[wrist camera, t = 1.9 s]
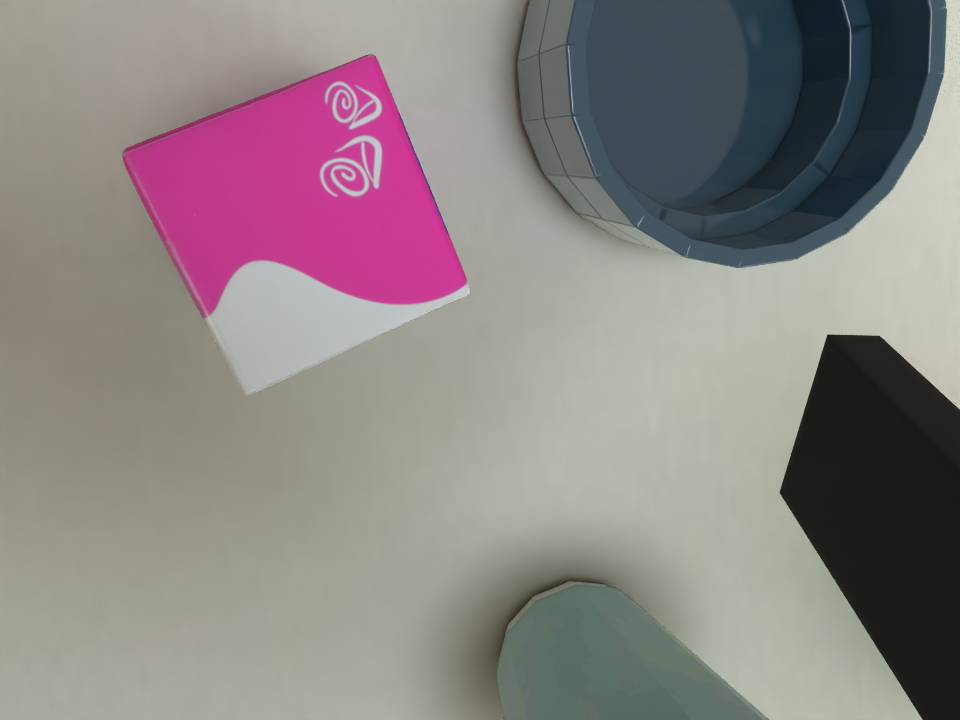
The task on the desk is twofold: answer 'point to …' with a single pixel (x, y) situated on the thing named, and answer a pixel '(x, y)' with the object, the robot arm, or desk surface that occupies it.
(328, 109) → the supplement box
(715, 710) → the disposable coffee cup
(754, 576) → the desk surface
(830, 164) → the bowl
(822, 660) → the desk surface
